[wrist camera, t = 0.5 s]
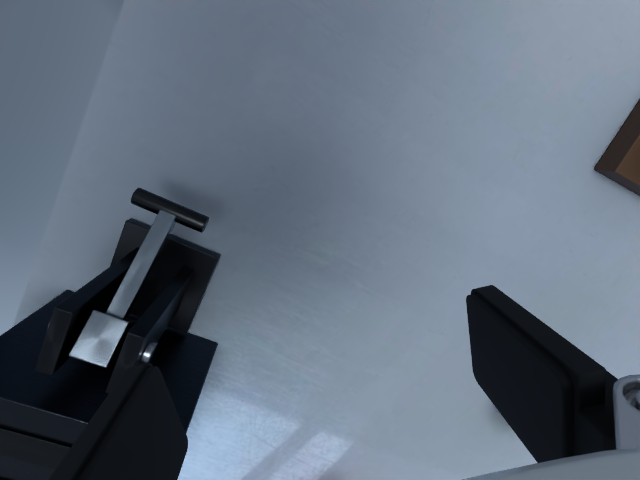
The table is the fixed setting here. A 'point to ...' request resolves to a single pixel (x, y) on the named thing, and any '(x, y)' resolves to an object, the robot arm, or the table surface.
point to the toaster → (75, 392)
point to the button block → (624, 154)
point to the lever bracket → (151, 305)
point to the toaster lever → (132, 282)
